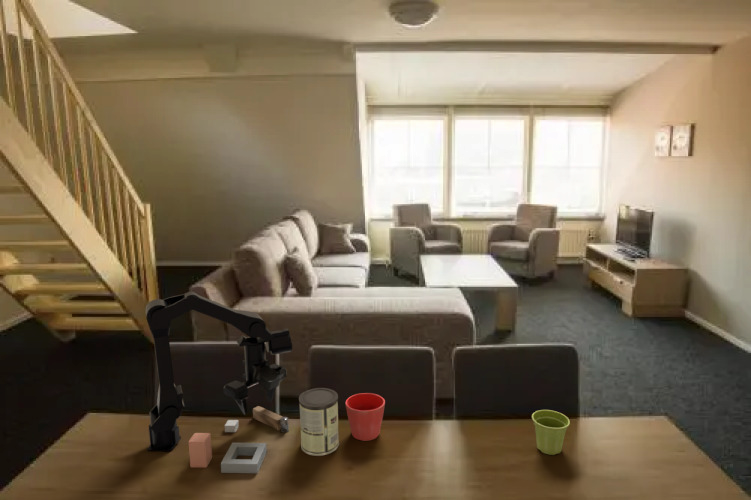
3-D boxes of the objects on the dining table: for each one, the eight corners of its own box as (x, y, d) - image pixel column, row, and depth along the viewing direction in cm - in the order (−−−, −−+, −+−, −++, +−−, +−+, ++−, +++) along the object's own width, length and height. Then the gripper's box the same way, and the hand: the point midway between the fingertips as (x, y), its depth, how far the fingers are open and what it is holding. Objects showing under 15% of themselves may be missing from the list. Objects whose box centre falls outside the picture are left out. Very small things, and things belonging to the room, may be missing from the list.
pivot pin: (280, 432, 138) (279, 420, 137) (281, 427, 140) (281, 416, 139) (287, 432, 138) (287, 420, 137) (289, 428, 140) (289, 416, 139)
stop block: (225, 432, 138) (224, 425, 137) (228, 426, 141) (228, 420, 140) (235, 432, 138) (235, 425, 137) (238, 426, 141) (238, 420, 140)
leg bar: (284, 426, 140) (283, 417, 140) (278, 430, 139) (277, 420, 138) (258, 415, 147) (258, 405, 146) (253, 418, 145) (252, 408, 145)
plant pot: (528, 454, 127) (530, 424, 125) (531, 435, 135) (533, 407, 134) (567, 462, 123) (569, 431, 122) (567, 443, 132) (570, 413, 130)
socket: (221, 472, 120) (220, 463, 119) (233, 451, 129) (232, 442, 128) (257, 473, 120) (257, 464, 119) (266, 451, 128) (266, 443, 128)
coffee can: (305, 433, 137) (304, 386, 134) (341, 435, 136) (341, 388, 133) (296, 455, 127) (294, 405, 124) (335, 457, 126) (334, 407, 123)
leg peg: (190, 467, 122) (188, 441, 121) (196, 457, 126) (194, 432, 125) (206, 467, 122) (204, 442, 121) (212, 457, 126) (210, 433, 125)
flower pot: (349, 422, 143) (349, 391, 141) (387, 424, 141) (387, 393, 140) (342, 442, 133) (341, 409, 131) (382, 445, 131) (382, 412, 129)
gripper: (247, 376, 127) (250, 430, 130) (298, 353, 142) (300, 403, 145) (220, 365, 134) (224, 417, 137) (272, 345, 149) (274, 392, 151)
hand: (257, 407), depth 142 cm, fingers open, 9 cm apart
